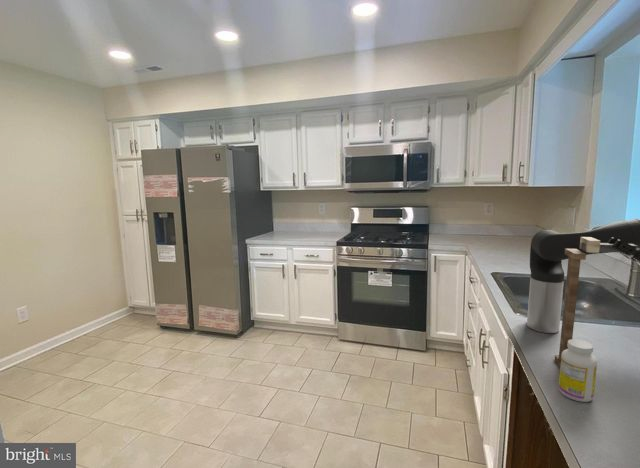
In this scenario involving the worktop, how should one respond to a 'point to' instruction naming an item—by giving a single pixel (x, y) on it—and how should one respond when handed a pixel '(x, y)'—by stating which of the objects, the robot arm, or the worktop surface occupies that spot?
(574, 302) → the walnut stand
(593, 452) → the worktop surface
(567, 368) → the supplement bottle
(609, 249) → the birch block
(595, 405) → the worktop surface
